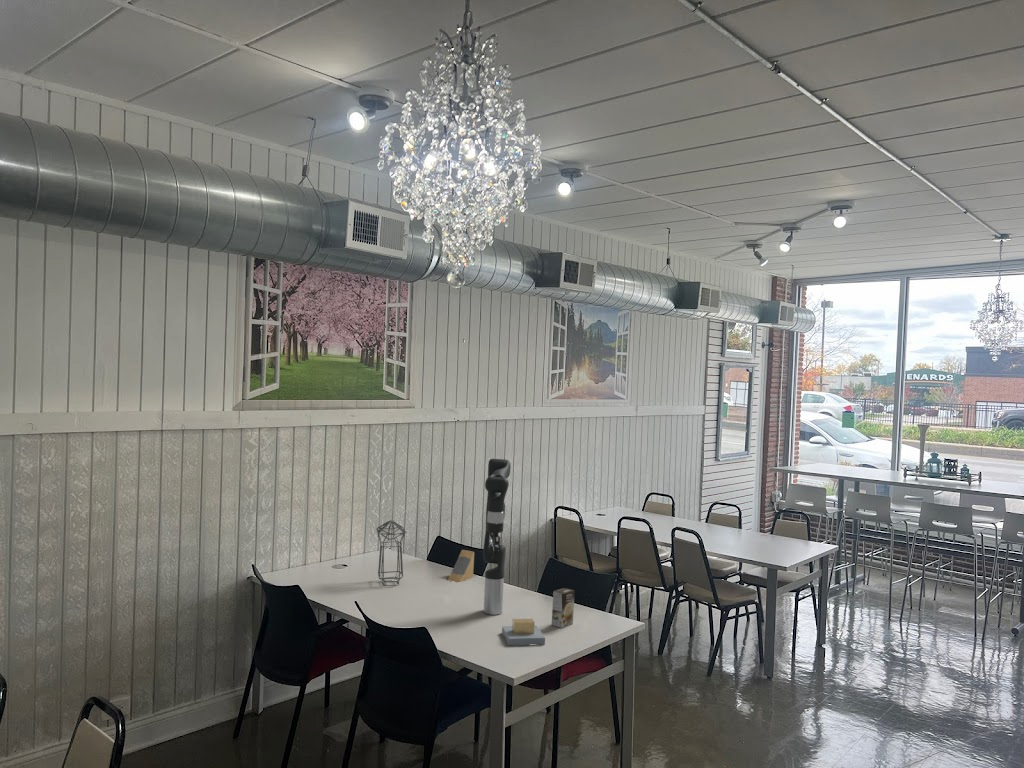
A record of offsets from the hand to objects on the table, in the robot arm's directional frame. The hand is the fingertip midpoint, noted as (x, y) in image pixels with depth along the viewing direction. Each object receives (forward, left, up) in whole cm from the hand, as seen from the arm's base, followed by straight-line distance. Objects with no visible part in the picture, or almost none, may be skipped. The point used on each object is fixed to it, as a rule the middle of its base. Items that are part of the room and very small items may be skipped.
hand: (493, 556), depth 335 cm
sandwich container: (-90, -2, -34) cm, 96 cm away
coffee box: (-8, +36, -34) cm, 50 cm away
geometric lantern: (-81, -43, -34) cm, 98 cm away
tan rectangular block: (+10, +13, -31) cm, 35 cm away
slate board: (+10, +13, -34) cm, 38 cm away
